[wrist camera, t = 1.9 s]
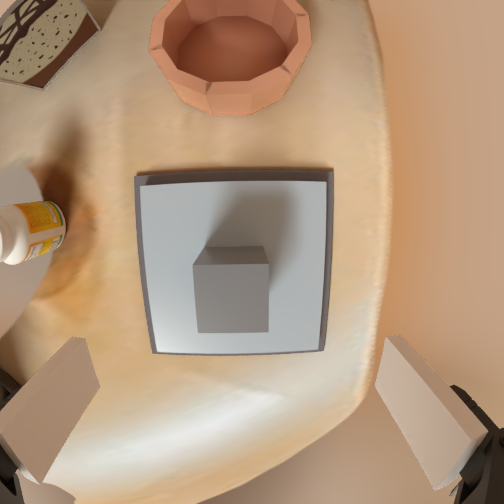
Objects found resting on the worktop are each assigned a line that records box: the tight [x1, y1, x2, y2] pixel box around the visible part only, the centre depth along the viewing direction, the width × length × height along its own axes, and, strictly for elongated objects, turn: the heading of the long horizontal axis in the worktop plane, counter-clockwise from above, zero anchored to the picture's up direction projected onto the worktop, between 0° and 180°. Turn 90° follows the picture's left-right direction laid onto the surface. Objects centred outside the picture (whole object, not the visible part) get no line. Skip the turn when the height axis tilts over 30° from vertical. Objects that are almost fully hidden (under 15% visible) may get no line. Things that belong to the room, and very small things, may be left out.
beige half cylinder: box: [0, 0, 101, 91], centre depth 16 cm, size 12×6×10 cm, turn 131°
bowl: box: [149, 0, 312, 116], centre depth 19 cm, size 12×12×6 cm
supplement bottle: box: [0, 201, 66, 265], centre depth 20 cm, size 5×5×10 cm
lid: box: [140, 181, 326, 354], centre depth 23 cm, size 16×16×7 cm
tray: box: [134, 170, 333, 356], centre depth 27 cm, size 18×18×1 cm
